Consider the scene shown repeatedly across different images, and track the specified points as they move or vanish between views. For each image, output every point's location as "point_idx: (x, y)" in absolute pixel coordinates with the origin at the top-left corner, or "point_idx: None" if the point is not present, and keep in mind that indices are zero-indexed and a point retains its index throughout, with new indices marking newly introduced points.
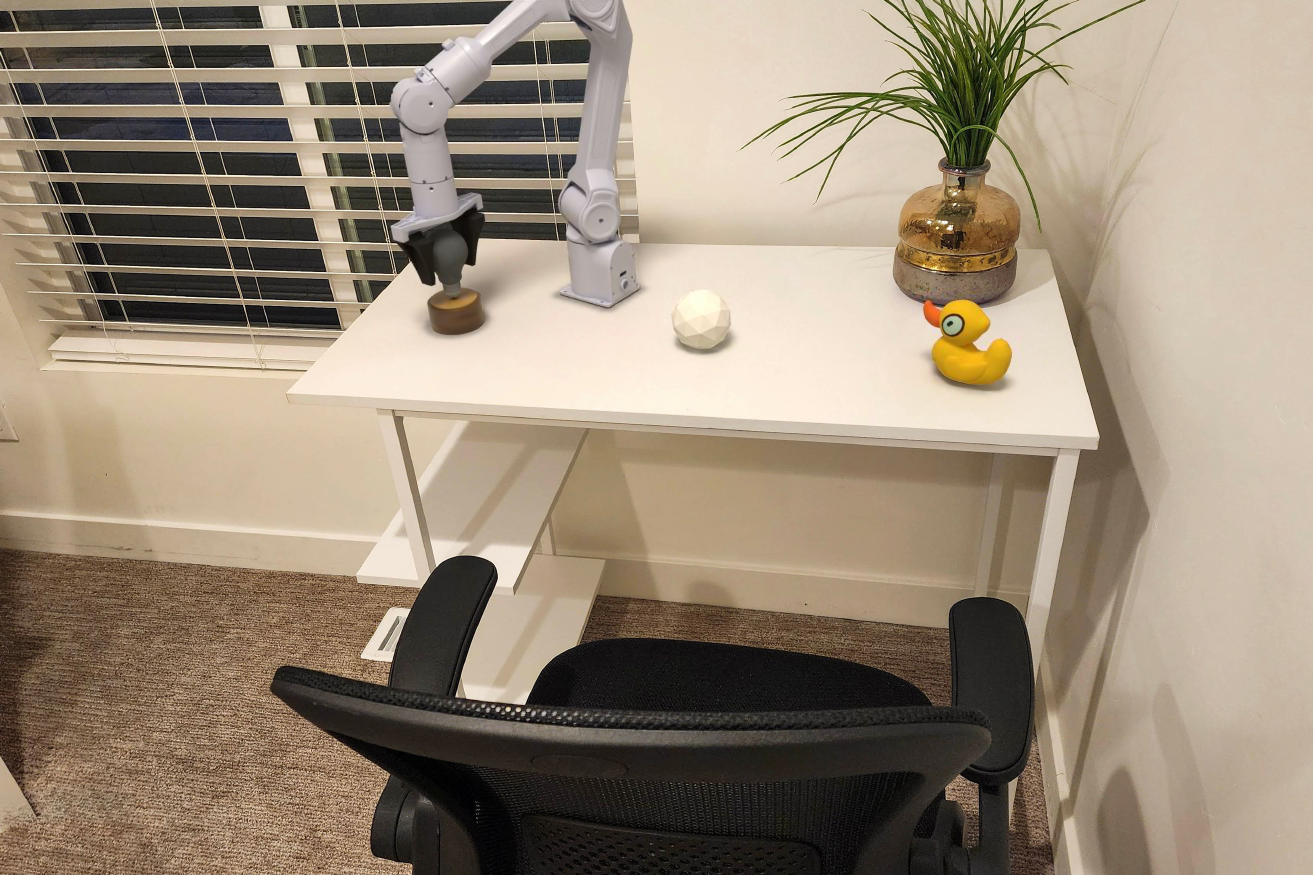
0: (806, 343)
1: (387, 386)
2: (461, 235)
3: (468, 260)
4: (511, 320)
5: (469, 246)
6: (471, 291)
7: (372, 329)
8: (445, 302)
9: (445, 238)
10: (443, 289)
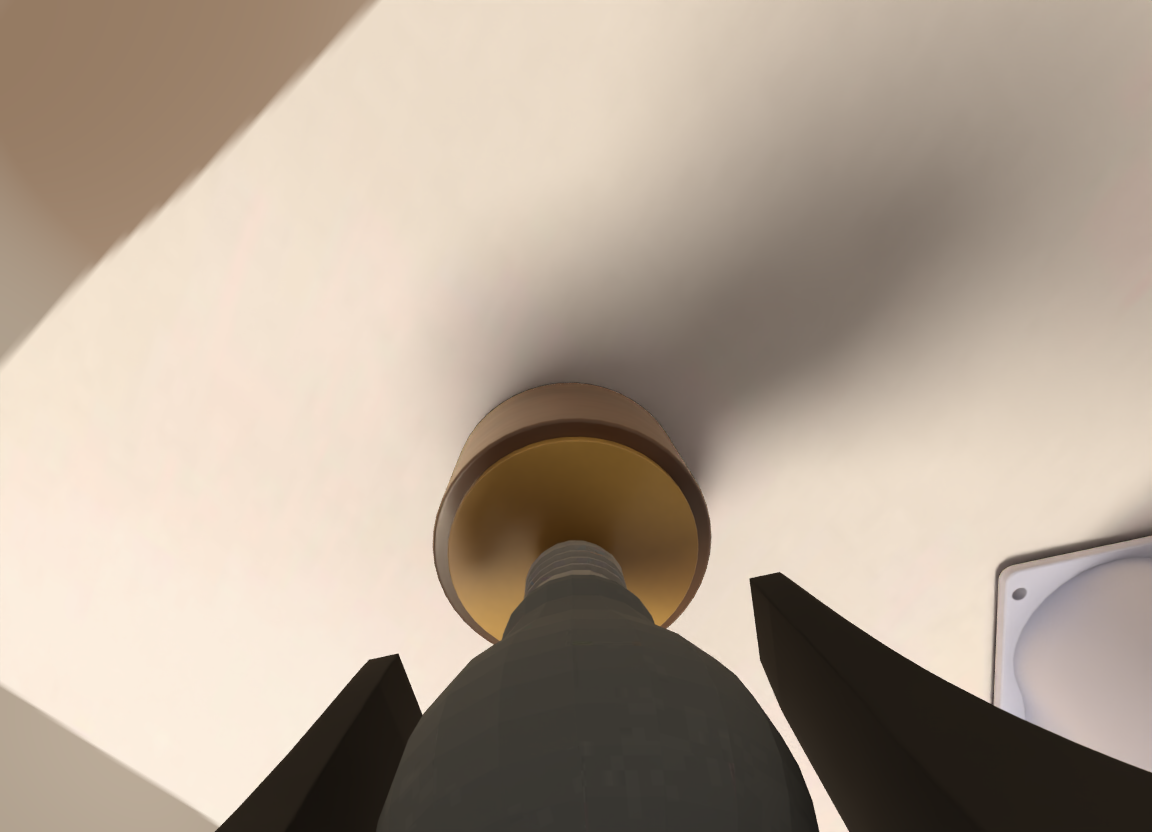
0: None
1: (135, 716)
2: (892, 821)
3: (771, 665)
4: (726, 610)
5: (840, 790)
6: (679, 563)
7: (226, 256)
8: (511, 578)
9: None
10: (530, 578)
